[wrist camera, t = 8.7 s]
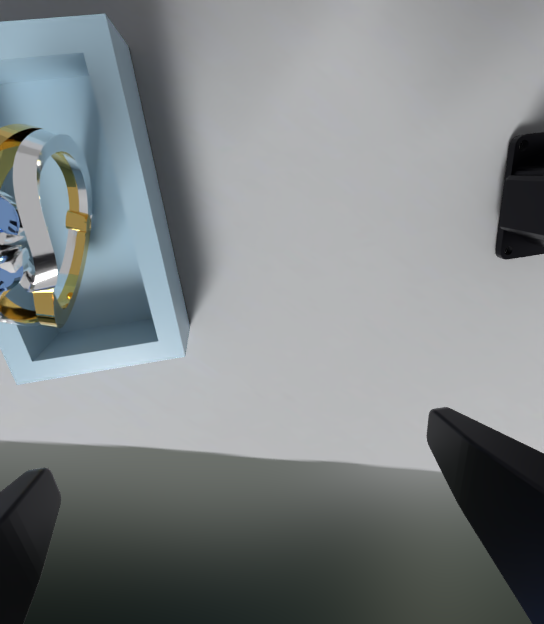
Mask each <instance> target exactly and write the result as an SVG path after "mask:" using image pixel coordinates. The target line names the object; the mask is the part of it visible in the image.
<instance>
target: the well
mask: <svg viewBox="0 0 544 624" xmlns="http://www.w3.org/2000/svg"><path fill="white" fill-rule="evenodd" d="M11 124H28V125H32V126H36V127H39V128H43V129H49V130H53V131H56V132H59V133H62V134H65V135H68V136H70V137H71V138H73V139H74V140H75V141H76V143H77V144H78V145H79V147H80V149H81V151H82V153H83V155H84V157H85V160H86V163H87V166H88V170H89V175H90V181H91V189H92V213H94V225H93V229H92V231H90V239H89V246H88V252H87V258H86V263H85V268H84V272H83V277H82V280H81V284H80V288H79V291H78V294H77V297H76V300H75V303H74V306H73V308H72V311H71V313H70V315H69V317H68V319H67V321H66V323H65V325H64V326H63V327H62V328H52V327H44V326H42V325H38V326H22V325H15V324H7V323H2V322H0V349H1V351H2V353H3V355H4V357H5V360H6V362H7V364H8V366H9V368H10V371H11V373H12V375H13V377H14V379H15V382H16V384H17V385H19V384H25V383H31V382H37V381H43V380H49V379H55V378H61V377H67V376H73V375H79V374H85V373H90V372H96V371H102V370H108V369H114V368H120V367H126V366H132V365H138V364H144V363H150V362H156V361H162V360H168V359H174V358H180V357H185V354H186V348H187V342H188V335H189V329H190V325H189V320H188V315H187V311H186V306H185V302H184V297H183V293H182V288H181V284H180V279H179V274H178V270H177V265H176V261H175V256H174V252H173V247H172V242H171V238H170V233H169V229H168V224H167V220H166V215H165V211H164V206H163V201H162V197H161V192H160V188H159V183H158V179H157V174H156V169H155V165H154V160H153V156H152V151H151V147H150V142H149V138H148V133H147V128H146V124H145V119H144V115H143V110H142V106H141V101H140V97H139V92H138V87H137V83H136V78H135V74H134V69H133V65H132V60H131V55H130V51H129V46H128V45H127V44H126V42H125V41H124V39H123V38H122V37H121V35H120V34H119V32H118V31H117V30H116V28H115V27H114V25H113V24H112V22H111V21H110V20H109V18H108V17H107V15H106V14H93V15H80V16H67V17H54V18H42V19H29V20H16V21H3V22H0V128H1V127H4V126H7V125H11ZM39 186H40V198H41V204H42V209H43V213H44V217H45V221H46V225H47V228H48V232H49V235H50V239H51V242H52V246H53V249H54V253H55V258H56V263H57V271H58V274H59V271H60V268H61V265H62V262H63V258H64V254H65V249H66V244H67V237H68V229H66V224H65V222H66V213H67V211H68V210H69V197H68V190H67V185H66V182H65V178H64V176H63V173H62V171H61V169H60V167H59V166H58V164H57V163H56V161H55V160H54V159H53V158H52V157H51V156H50V157H49V158H48V159H47V160H46V162H45V163H44V165H43V168H42V170H41V174H40V184H39ZM0 190H1V191H3V192H5V193H7V194H8V195H10V196H11V197H12V198H14V199H13V200H12V201H13V202H14V203H16V200H15V194H14V187H13V167H12V168H11V169H10V171H9V172H8V174H7V176H6V178H5V180H4V182H3V184H2V187H1V189H0ZM25 236H26V235H25ZM24 247H26V248H27V250H28V252H29V256H30V258H29V261H30V262H31V263H32V265H33V266H34V261H33V257H32V253H31V250H30V247H29V244H28V241H27V240H26V243H25V245H24ZM24 247H21V248H24ZM3 260H4V259H3ZM3 260H1V261H0V263H1V262H2V261H3ZM34 267H35V266H34ZM5 296H6V297H7V298H8V299H9V300H10V301H12V302H13V303H15V304H16V305H18V306H20V307H22V308H28V307H32V306H35V305H34V298H33V292H27V291H26V290H25V289H24V288H23V287H22V286H21V284H20V283H18V284H17V285H16V286H15V287H14V288H12V289H11V290H10V291H9V292H8V293H7V294H6V295H5Z"/></svg>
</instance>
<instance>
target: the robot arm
mask: <svg viewBox="0 0 544 624" xmlns="http://www.w3.org/2000/svg"><path fill="white" fill-rule="evenodd" d="M521 142H522V148H521V149H519V145H520V143H521ZM506 248H508V249H507V251H506V252H504V251H505V249H506ZM539 254H544V132H542V133H534V134H526V135H519V136H516V137H515V138H513V139H512V141H511V142H510V145H509V151H508V158H507V166H506V174H505V182H504V189H503V197H502V205H501V212H500V220H499V228H498V236H497V243H496V255H497V256H498V257H499V258H502V259H513V258H519V257H526V256H532V255H539ZM427 442H428V445H429V447H430V449H431V451H432V453H433V455H434V457H435V459H436V461H437V463H438V465H439V467H440V469H441V471H442V473H443V475H444V477H445V479H446V481H447V483H448V485H449V487H450V489H451V491H452V493H453V495H454V497H455V499H456V501H457V503H458V505H459V506H460V508H461V510H462V511H463V513H464V515H465V517H466V518H467V520H468V521H469V523H470V524H471V526H472V528H473V529H474V531H475V533H476V534H477V536H478V537H479V539H480V541H481V542H482V544H483V545H484V547H485V548H486V550H487V552H488V553H489V555H490V557H491V558H492V560H493V561H494V563H495V565H496V566H497V568H498V569H499V571H500V573H501V574H502V576H503V578H504V579H505V581H506V582H507V584H508V585H509V587H510V589H511V590H512V592H513V593H514V595H515V597H516V598H517V600H518V602H519V603H520V605H521V606H522V608H523V609H524V611H525V613H526V615H527V616H528V618H529V619H530V621H531V623H532V624H544V453H542V452H540V451H537V450H535V449H533V448H531V447H529V446H527V445H525V444H523V443H521V442H519V441H517V440H515V439H513V438H511V437H508V436H506V435H504V434H502V433H500V432H498V431H496V430H494V429H492V428H490V427H488V426H486V425H484V424H482V423H479V422H477V421H475V420H473V419H471V418H469V417H467V416H465V415H463V414H461V413H459V412H457V411H455V410H453V409H450V408H448V407H443V408H436V409H432V410H431V411H430V412H429V418H428V427H427ZM60 504H61V495H60V491H59V489H58V487H57V484H56V482H55V479H54V477H53V475H52V473H51V471H50V470H49V469H48V468H40V469H33V470H29V471H27V472H25V473H24V474H22V475H21V476H20V477H19V478H17V479H16V480H15V481H14V482H12V483H11V484H10V485H8V486H7V487H6V488H5V489H3V490H2V491H1V492H0V624H23V623H24V621H25V618H26V615H27V613H28V610H29V607H30V604H31V602H32V599H33V597H34V594H35V591H36V588H37V586H38V583H39V580H40V577H41V574H42V570H43V567H44V563H45V560H46V556H47V552H48V548H49V545H50V541H51V538H52V534H53V530H54V526H55V523H56V519H57V515H58V512H59V508H60Z"/></svg>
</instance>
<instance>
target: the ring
mask: <svg viewBox="0 0 544 624" xmlns="http://www.w3.org/2000/svg"><path fill="white" fill-rule="evenodd" d="M50 156H51V157H52V158H53V159H54V160H55V161H56V163H57V164H58V166H59V167H60V169H61V171H62V173H63V176H64V178H65V182H66V185H67V190H68V197H69V210H68V211H67V213H66V222H65V224H66V229H68V237H67V244H66V249H65V254H64V258H63V262H62V265H61V268H60V271H59V274H58V271H57V263H56V258H55V253H54V249H53V246H52V242H51V239H50V235H49V232H48V228H47V225H46V221H45V217H44V213H43V209H42V204H41V198H40V186H39V184H40V174H41V170H42V168H43V165H44V163H45V162H46V160H47V159H48V158H49V157H50ZM12 167H13V187H14V194H15V200H16V203H14V202H13V201H12V200H13V199H14V198H12V197H11V196H10V195H8V194H7V193H5V192H3V191H1V190H0V261H1V260H3V259H4V260H3V261H2V262H1V263H0V322H2V323H7V324H15V325H22V326H38V325H42V326H44V327H52V328H62V327H63V326H64V325H65V323H66V321H67V319H68V317H69V315H70V313H71V311H72V308H73V306H74V303H75V300H76V297H77V294H78V291H79V288H80V284H81V280H82V277H83V272H84V268H85V263H86V258H87V252H88V246H89V239H90V231H92V229H93V225H94V213H92V189H91V181H90V175H89V170H88V166H87V163H86V160H85V157H84V155H83V153H82V151H81V149H80V147H79V145H78V144H77V143H76V141H75V140H74V139H73V138H71V137H70V136H68V135H65V134H62V133H59V132H56V131H53V130H49V129H43V128H39V127H36V126H32V125H28V124H11V125H7V126H4V127H1V128H0V189H1V187H2V184H3V182H4V180H5V178H6V176H7V174H8V172H9V171H10V169H11V168H12ZM25 235H26V236H25ZM26 240H27V241H28V244H29V247H30V250H31V253H32V257H33V261H34V266H35V267H34V266H33V265H32V263H31V262H30V261H29V258H30V256H29V252H28V250H27V248H26V247H24V245H25V243H26ZM21 247H24V248H21ZM18 283H20V284H21V286H22V287H23V288H24V289H25V290H26V291H27V292H33V298H34V305H35V306H32V307H28V308H22V307H20V306H18V305H16V304H15V303H13V302H12V301H10V300H9V299H8V298H7V297H6V296H5V295H6V294H7V293H8V292H9V291H10V290H11V289H12V288H14V287H15V286H16V285H17V284H18Z"/></svg>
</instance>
